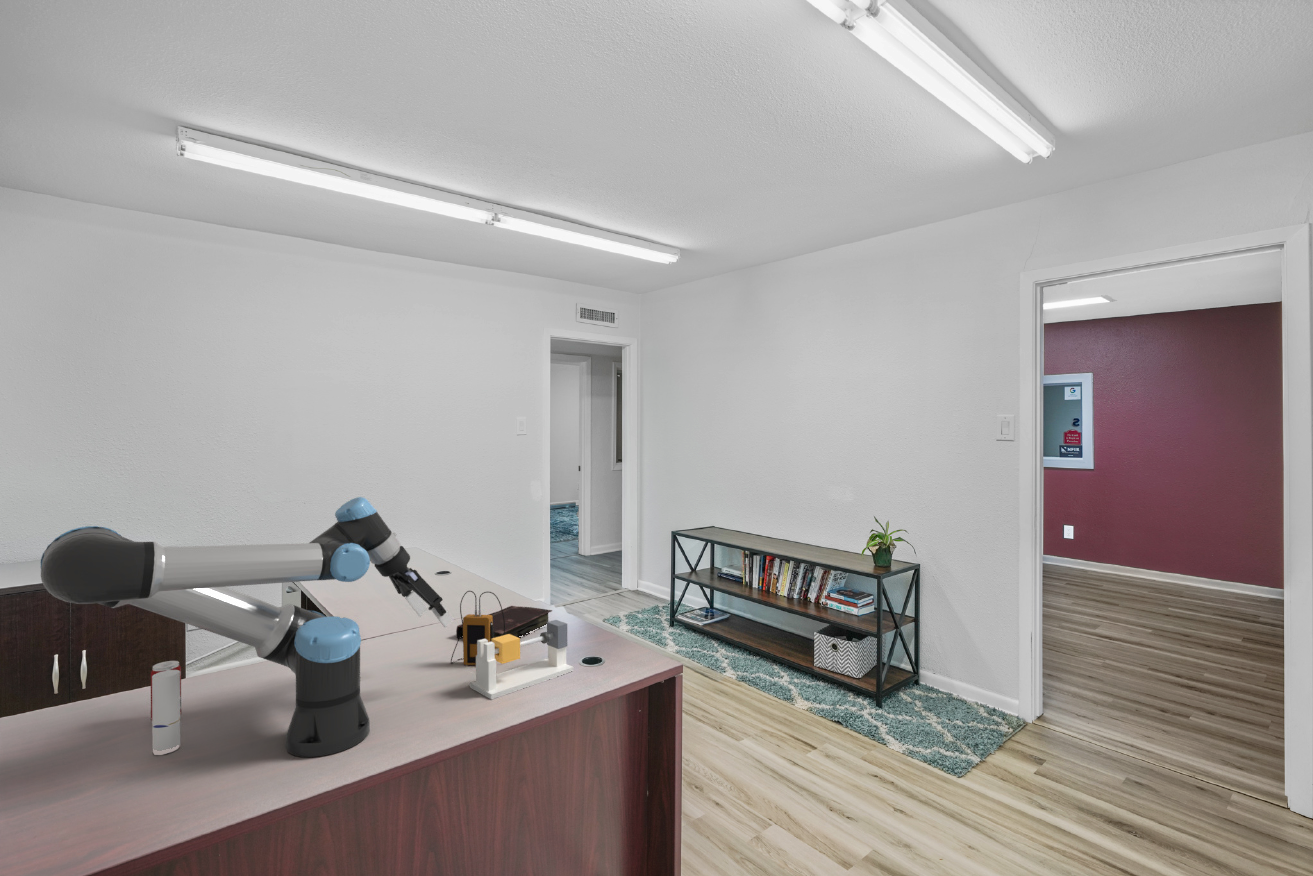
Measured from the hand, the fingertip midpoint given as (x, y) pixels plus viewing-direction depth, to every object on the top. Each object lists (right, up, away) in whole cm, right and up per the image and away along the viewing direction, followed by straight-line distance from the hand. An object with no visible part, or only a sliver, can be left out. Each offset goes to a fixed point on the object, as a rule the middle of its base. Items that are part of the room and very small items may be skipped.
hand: (436, 617), depth 156 cm
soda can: (-52, -16, -21) cm, 58 cm away
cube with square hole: (+18, -9, -3) cm, 21 cm away
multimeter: (+8, -16, +15) cm, 23 cm away
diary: (+8, -16, +40) cm, 44 cm away
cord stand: (+22, -16, +1) cm, 27 cm away
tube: (-41, -16, -34) cm, 56 cm away
